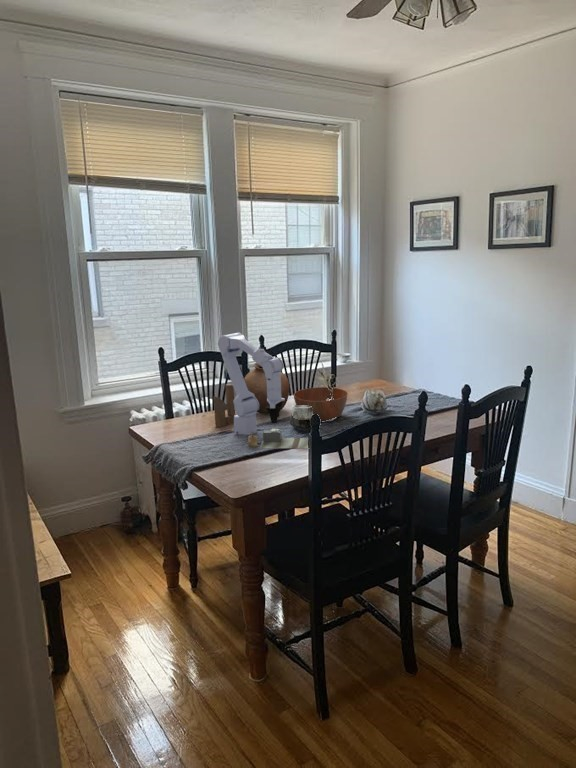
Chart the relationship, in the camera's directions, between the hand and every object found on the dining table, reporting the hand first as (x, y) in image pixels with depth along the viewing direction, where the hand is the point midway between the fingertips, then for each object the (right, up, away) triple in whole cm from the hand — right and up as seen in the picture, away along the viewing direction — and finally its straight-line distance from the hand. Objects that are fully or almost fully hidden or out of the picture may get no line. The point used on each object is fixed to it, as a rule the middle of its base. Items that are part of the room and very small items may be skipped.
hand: (275, 420), depth 232 cm
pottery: (-5, +1, +44) cm, 45 cm away
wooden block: (-23, -4, +29) cm, 38 cm away
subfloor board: (+4, -10, -2) cm, 11 cm away
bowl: (+21, -1, +33) cm, 39 cm away
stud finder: (-1, -8, +1) cm, 8 cm away
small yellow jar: (-9, -11, -4) cm, 15 cm away
